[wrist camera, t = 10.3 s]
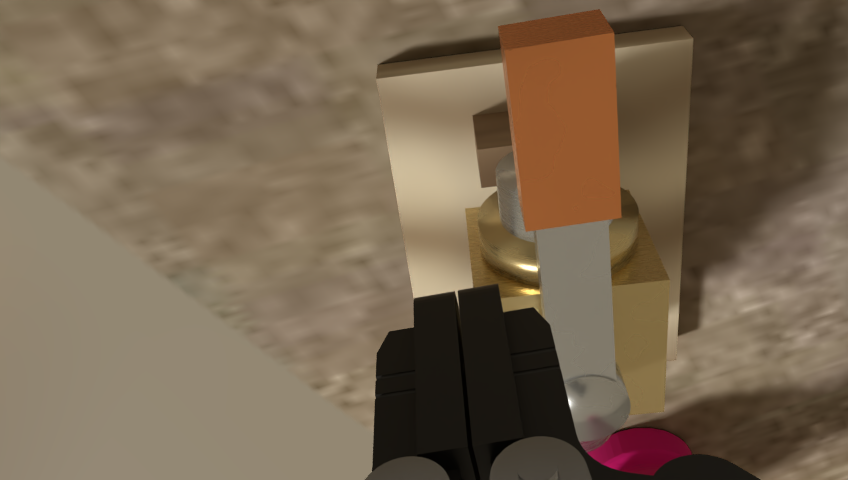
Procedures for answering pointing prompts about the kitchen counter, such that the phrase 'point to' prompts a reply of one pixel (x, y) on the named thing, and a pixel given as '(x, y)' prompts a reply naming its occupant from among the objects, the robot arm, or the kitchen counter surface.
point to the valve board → (456, 168)
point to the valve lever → (571, 196)
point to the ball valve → (630, 275)
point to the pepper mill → (640, 450)
